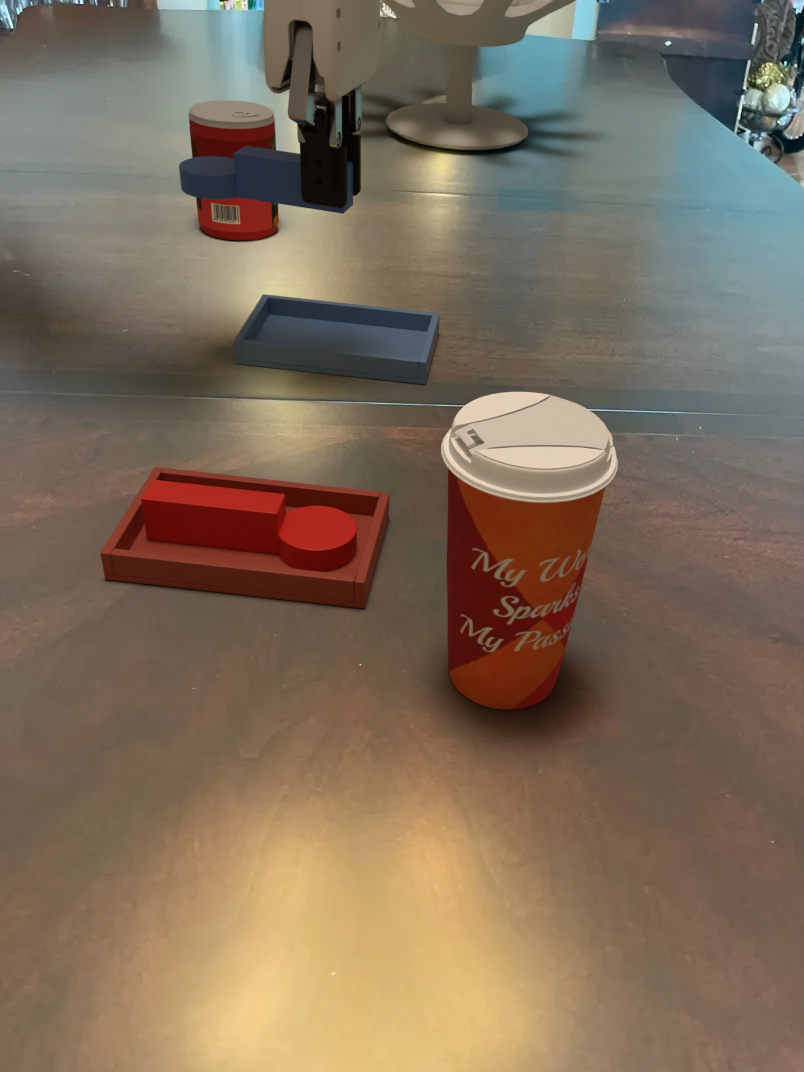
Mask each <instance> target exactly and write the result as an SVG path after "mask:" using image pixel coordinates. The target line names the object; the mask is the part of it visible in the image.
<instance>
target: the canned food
mask: <svg viewBox="0 0 804 1072" xmlns="http://www.w3.org/2000/svg"><path fill="white" fill-rule="evenodd" d="M188 122H189V123H188V124H189V125H188V126H189V136H190V137H189V139H190V148H191V158H195V157H203V156H219V157H228V158H233V159H234V155H233V154H234V153H235V152H237V151H238V150H240V149H241V148H243V147H245V146H251V147H258V148H265V149H271V150H277V137H276V136H277V134H276V119H275V112H274V111H273V109H272V108H270V107H268V106H266V105H263V104H260V103H257V102H251V101H243V100H229V99H228V100H227V99H224V100H221V99H220V100H208V101H202V102H199V103H195V104H193V105H192V106H190V107H189V108H188ZM195 200H196V211H197V220H198V223H199V226H200V229H201V230H202V232H204V233H205V234H207V235H209V236H211V237H213V238H216V239H221V240H227V241H254V240H260V239H264V238H267V237H269V236H271V235H273V234H274V233H275V232H276V231H277V229H278V225H279V221H280V215H279V204H277V203H271V202H264V201H258V200H251V199H245V198H239V197H235V198H230V199H203V198H197V197H195Z"/></svg>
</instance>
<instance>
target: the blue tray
mask: <svg viewBox="0 0 804 1072" xmlns="http://www.w3.org/2000/svg"><path fill="white" fill-rule="evenodd" d="M440 316H441V313H438V312H431V311H420V310H412V309H403V308H393V307H384V306H375V305H366V304H365V305H364V304H357V303H347V302H339V301H329V300H321V299H320V300H319V299H312V298H304V297H303V298H302V297H292V296H283V295H274V294H266V293H263V294H262V295H261V297H260V298H259V300H258V301H257V303H256V304H255V306H254V308H253V309H252V311H251V313H250V314H249V315H248V316H247V317H248V318H247V319H246V321H245V322H244V324H243V325H242V327H241V329H240V330H239V332H237V335H236V336H235V338H234V339H233V341H232V343H233V354H234V355H233V356H234V364H236V365H245V366H254V367H263V368H270V369H271V368H273V369H280V370H281V369H282V370H288V371H298V372H308V373H317V374H324V375H325V374H327V375H335V376H344V377H352V378H353V377H354V378H360V379H361V378H363V379H371V380H380V381H381V380H382V381H388V382H389V381H390V382H399V383H407V384H418V385H426V383H427V379H428V375H429V372H430V368H431V364H432V360H433V357H434V353H435V349H436V346H437V341H438V339H439V333H440V319H441V318H440Z"/></svg>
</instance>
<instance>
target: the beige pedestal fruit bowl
mask: <svg viewBox="0 0 804 1072" xmlns="http://www.w3.org/2000/svg"><path fill="white" fill-rule="evenodd" d="M576 1H577V0H380V2H382V3H383V4H385V5H386V6H388V7H389V8H390V9H391V10H392V11H393V12H395V14H396V15H397V16H398V18H399V22H400V26H401V28H402V30H403V31H404V32H406V33H407V34H409V35H411V36H413V37H416V38H418V39H421V40H425V41H427V42H428V41H429V42H432V43H438V44H443V45H445V52H446V53H445V54H446V58H447V64H448V80H447V85H446V93H445V102H428V103H427V102H426V103H415V104H410V105H405V106H401V107H400V108H398V109H396V110H393V111H391V112H390V113H388V115H387V118H386V120H385V123H386V126H387V127H388V129H390V132H392V133H394V134H396V135H398V136H400V137H402V138H404V139H406V140H407V141H410V142H414V143H416V144H417V143H418V144H421V145H424V146H425V145H426V146H431V147H435V148H439V149H440V148H441V149H447V150H448V149H449V150H457V151H458V150H460V151H489V150H497V149H498V150H499V149H503V148H508V147H511V146H514V145H517V144H520V143H521V142H522V141H524V140H525V139H526V138H528V136H529V135H528V133H529V128H528V126H527V125H526V124H525V123H524V122H522V121H521V120H520V119H519V118H517V117H515V116H514V115H510V114H509V113H507V112H504V111H501V110H497V109H492V108H489V107H484V106H480V105H474V104H473V83H472V78H473V77H472V74H473V69H474V66H475V63H476V58H477V56H478V53H479V48H493V47H503V46H509V45H514V44H517V43H519V42H521V41H522V40H523V39H524V38H525V36H526V32H527V30H528V28H529V27H530V26H532V25H533V24H534V23H536V22H538V21H540V20H541V19H543V18H545V17H547V16H548V15H551V14H552V13H554V12H557V11H558V10H560V9H563V8H565V7H566V6H569V5H571V4H573V3H574V2H576Z"/></svg>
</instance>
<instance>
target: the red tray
mask: <svg viewBox="0 0 804 1072" xmlns="http://www.w3.org/2000/svg"><path fill="white" fill-rule="evenodd" d="M152 480H160V481H169V482H178V483H187V484H196V485H205V486H214V487H223V488H232V489H241V490H250V491H259V492H268V493H277V494H284V495H285V505H286V513H288V512H290V511H292V510H294V509H298V508H301V507H307V506H327V507H332V508H336V509H339V510H341V511H343V512H345V513H347V514H348V515H350V516H351V517H352V518H353V520H354V521H355V523H356V526H357V551H356V554H355V556H354V557H353V559H352V560H351V561H350V562H349V563H347V564H346V565H344V566H342V567H340V568H337V569H334V570H329V571H321V572H318V571H309V570H300V569H297V568H294V567H292V566H290V565H288V564H287V563H285V562H284V561H283V560H282V559H281V557H280V556H279V554H278V555H277V554H268V553H259V552H250V551H241V550H232V549H223V548H214V547H205V546H196V545H187V544H178V543H170V542H161V541H152V540H147V536H146V529H145V523H144V516H143V509H142V503H141V498H142V496H143V494H144V493H145V491H146V490H147V488H148V486H149V485H150V483H151V481H152ZM390 495H391V494H390V493H389V492H384V491H376V490H367V489H358V488H351V487H350V488H349V487H340V486H332V485H331V486H330V485H323V484H312V483H304V482H295V481H288V480H287V481H286V480H279V479H278V480H277V479H269V478H259V477H250V476H242V475H241V476H240V475H232V474H224V473H223V474H222V473H215V472H205V471H198V470H197V471H196V470H187V469H178V468H169V467H161V466H160V467H159V466H154V467H153V468H152V470H151V472H150V473H149V475H148V476H147V478H146V479H145V481H144V482H143V484H142V486H141V488H140V489H139V490H138V492H137V494H135V497H134V499H133V500H132V501H131V503H130V505H129V506H128V508H127V510H126V511H125V512H124V514H123V516H122V518H121V519H120V521H119V522H118V524H117V526H116V527H115V528H114V530H113V532H112V533H111V535H110V537H109V538H108V540H107V541H106V543H105V544H104V546H103V548H102V549H101V550H100V552H99V553H100V559H101V560H100V561H101V565H102V570H103V573H104V574H103V577H104V580H110V581H116V582H117V581H119V582H125V583H135V584H143V585H144V584H145V585H154V586H161V587H172V588H179V589H180V588H181V589H188V590H196V591H197V590H198V591H204V592H205V591H207V592H216V593H225V594H231V595H232V594H233V595H243V596H251V597H258V598H259V597H260V598H268V599H278V600H285V601H295V602H304V603H313V604H322V605H330V606H339V607H346V608H347V607H348V608H356V609H357V608H358V609H365V607H366V603H367V600H368V595H369V593H370V589H371V585H372V581H373V577H374V575H375V574H374V573H375V570H376V566H377V563H378V559H379V556H380V552H381V548H382V544H383V541H384V537H385V533H386V530H387V526H388V522H389V518H390Z"/></svg>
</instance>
